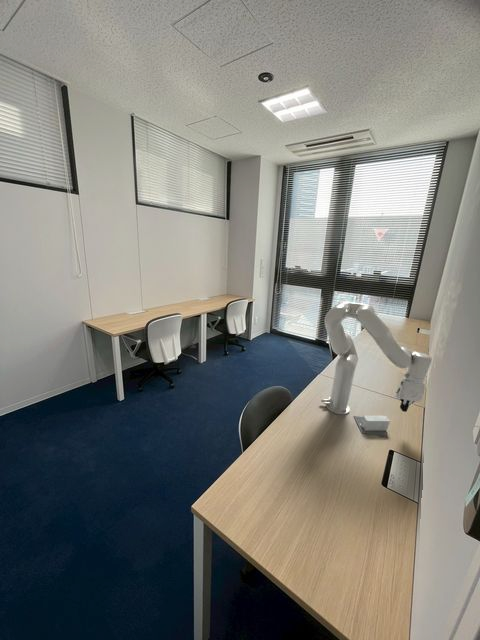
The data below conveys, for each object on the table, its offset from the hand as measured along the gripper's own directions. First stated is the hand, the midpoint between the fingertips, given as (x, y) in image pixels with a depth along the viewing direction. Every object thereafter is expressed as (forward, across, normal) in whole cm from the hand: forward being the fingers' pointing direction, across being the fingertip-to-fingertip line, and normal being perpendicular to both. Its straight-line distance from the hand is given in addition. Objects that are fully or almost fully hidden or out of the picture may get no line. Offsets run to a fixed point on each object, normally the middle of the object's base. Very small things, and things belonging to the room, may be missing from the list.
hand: (403, 409), depth 130 cm
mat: (+12, -14, -1) cm, 18 cm away
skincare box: (+8, -6, -1) cm, 10 cm away
